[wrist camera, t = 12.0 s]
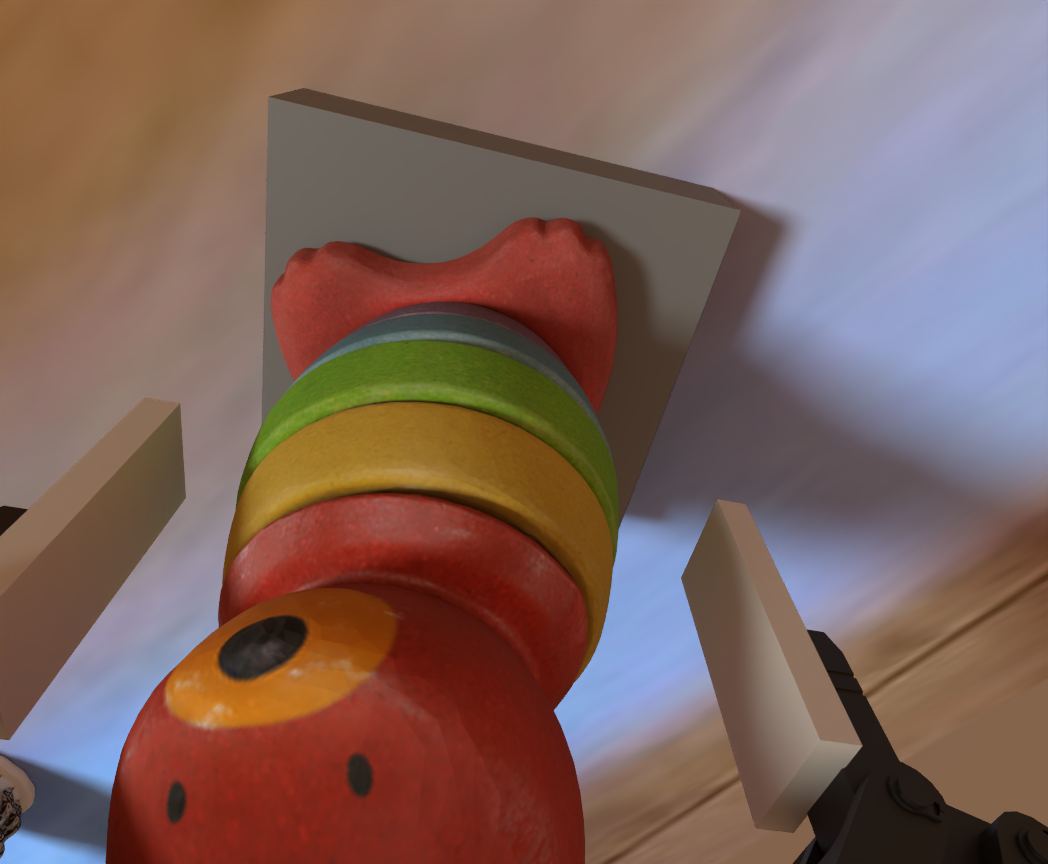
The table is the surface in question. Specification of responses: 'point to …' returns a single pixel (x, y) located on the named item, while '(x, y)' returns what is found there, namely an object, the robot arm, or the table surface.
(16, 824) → the decorative candle
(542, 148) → the gray block
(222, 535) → the table surface
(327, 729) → the stacking bear
